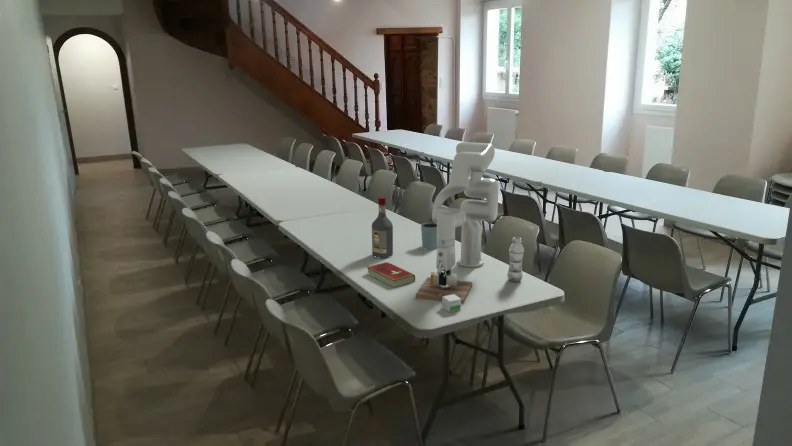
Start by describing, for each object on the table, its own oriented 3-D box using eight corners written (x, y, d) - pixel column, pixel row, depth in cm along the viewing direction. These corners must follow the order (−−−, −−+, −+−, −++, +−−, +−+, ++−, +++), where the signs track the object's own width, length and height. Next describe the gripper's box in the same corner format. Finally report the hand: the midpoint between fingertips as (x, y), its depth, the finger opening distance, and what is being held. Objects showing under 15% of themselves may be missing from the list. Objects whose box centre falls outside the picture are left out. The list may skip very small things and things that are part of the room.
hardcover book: (387, 269, 278) (387, 261, 277) (415, 282, 262) (415, 273, 260) (366, 274, 271) (366, 266, 270) (393, 288, 255) (393, 279, 254)
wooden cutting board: (427, 281, 261) (427, 276, 261) (472, 286, 256) (472, 281, 255) (415, 298, 243) (415, 293, 243) (463, 303, 237) (463, 299, 237)
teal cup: (419, 249, 306) (419, 227, 302) (422, 243, 315) (422, 221, 312) (439, 250, 304) (439, 228, 301) (440, 244, 314) (441, 222, 310)
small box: (448, 312, 230) (449, 301, 228) (441, 307, 235) (441, 295, 233) (461, 310, 232) (461, 298, 231) (453, 304, 237) (454, 293, 236)
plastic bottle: (512, 277, 266) (514, 234, 261) (525, 280, 262) (527, 238, 256) (504, 280, 262) (506, 237, 257) (516, 284, 257) (519, 241, 252)
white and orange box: (456, 285, 250) (457, 273, 249) (456, 289, 246) (456, 276, 244) (431, 284, 252) (431, 271, 250) (430, 288, 248) (430, 275, 246)
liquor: (380, 251, 302) (380, 194, 294) (395, 254, 297) (394, 197, 289) (369, 256, 295) (368, 198, 287) (384, 259, 290) (383, 200, 282)
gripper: (446, 249, 235) (445, 291, 240) (461, 238, 249) (460, 278, 254) (429, 246, 238) (428, 288, 243) (445, 235, 252) (444, 275, 257)
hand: (444, 282), depth 248 cm, fingers closed on white and orange box, 4 cm apart
